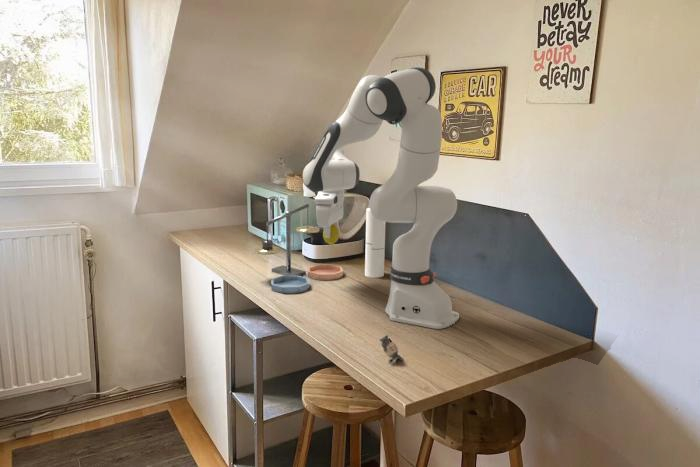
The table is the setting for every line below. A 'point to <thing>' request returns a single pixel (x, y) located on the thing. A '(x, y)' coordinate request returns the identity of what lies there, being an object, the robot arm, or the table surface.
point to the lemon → (332, 235)
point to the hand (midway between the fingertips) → (330, 235)
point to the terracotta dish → (325, 272)
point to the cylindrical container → (374, 246)
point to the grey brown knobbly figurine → (390, 349)
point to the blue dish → (290, 284)
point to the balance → (270, 249)
